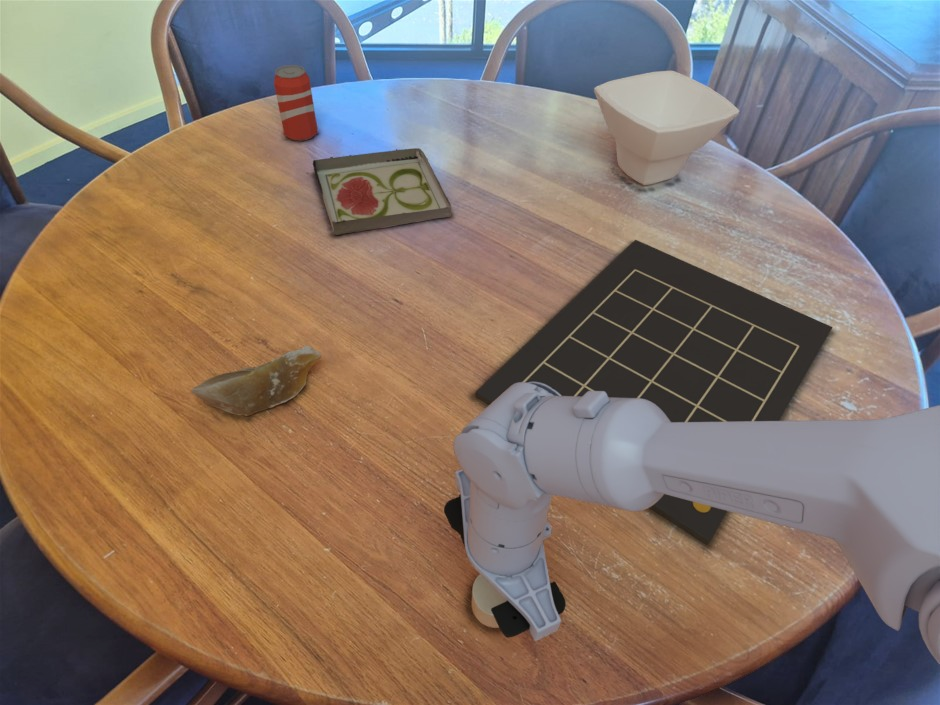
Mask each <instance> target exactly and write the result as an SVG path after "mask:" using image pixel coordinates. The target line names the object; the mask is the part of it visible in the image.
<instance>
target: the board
mask: <svg viewBox="0 0 940 705" xmlns="http://www.w3.org/2000/svg"><path fill="white" fill-rule="evenodd" d="M832 330H833V326H832V325H829V324H827V323H824V322H823V321H820V320H818V319H816V318H814V317H811V316H809V315H807V314H804V313H802V312H799V311H797V310H795V309H793V308H792V307H788V306H787V305H784V304H782V303H779V302H777V301H775V300H773V299H770V298H768V297H766V296H764V295H761V294H759V293H757V292H755V291H752V290H750V289H748V288H745V287H743V286H741V285H739V284H736V283H734V282H732V281H730V280H727V279H725V278H723V277H722V276H718V275H716V274H714V273H711V272H710V271H707V270H705V269H703V268H700V267H699V266H696V265H693V264H691V263H690V262H687V261H685V260H683V259H680V258H678V257H676V256H673V255H671V254H669V253H667V252H664V251H662V250H660V249H658V248H656V247H653V246H651V245H648V244H646V243H644V242H642V241H639V240H638V239H634V240H633V241H632V242H631V243H630V244H629V245H628V246H627V247H626V248H625V249H624V250H622V252H620V254H619V255H618V256H616V258H615V259H613V260H612V261H611V262H610V263H609V264H608V265H607V266H606V267H605V268H604V269H603V270H602V271H600V273H599V274H597V275H596V276H595V277H594V278H593V279H592V280H591V281H590V282H589V283H588V284H587V285H586V286H585V287H584V288H583V289H582V290H581V291H580V292H579V293H577V295H575V296H574V297H573V298H572V299H571V301H569V302H568V303H567V304H566V305H565V306H564V307H563V308H562V309H561V310H560V311H559V312H558V313H557V314H556V315H555V316H553V318H551V319H550V320H549V321H548V322H547V323H546V324H545V325H544V326H543V327H542V328H541V329H540V330H538V332H537V333H536V334H535V335H534V336H532V338H530V339H529V340H528V341H527V342H526V343H525V344H524V345H523V346H522V347H521V348H520V349H519V350H518V351H517V352H515V353H514V355H513V356H511V357H510V359H508V360H507V361H506V362H505V363H504V364H503V365H502V366H501V367H500V368H499V369H498V370H497V371H496V372H495V373H494V374H493V375H492V376H491V377H490V378H488V379H487V380H486V381H485V382H484V383H483V384H482V385H480V387H479V388H478V389H476V391H475V398H476V399H478V400H480V401H481V402H483V403H484V404H486V405H487V406H489V405H490V404H491V403H492V402H493V401H494V400H496V399H497V398H498V397H499V396H500V395H501V394H502V393H503V392H505V391H506V390H507V389H508V388H509V387H510V386H511V385H513V384H515V383H518V382H526V383H528V382H540V383H543V384H545V385H548V386H549V387H551V388H552V389H554V390H556V391H557V392H558V393H559V394H560V395H562V396H580V397H582V396H583V395H584V394H585V393H586V392H588V391H604V392H606V393H607V395H608V397H613V398H641V399H646V400H648V401H651V402H652V403H654V404H655V405H657V406H658V407H659V408H660V409H661V410H662V411H663V412H664V413H665V415H666V416H667V417H668V419H669V420H670V421H671V422H736V421H781V419H782V417H783V415H784V413H785V412H786V410H787V408H788V406H789V404H790V403H791V401H792V399H793V398H794V396H795V394H796V392H797V390H798V389H799V387H800V386H801V384H802V382H803V380H804V379H805V377H806V375H807V373H808V371H809V370H810V368H811V366H812V365H813V362H814V361H815V360H816V357H817V355H818V354H819V352H820V351H821V348H822V347H823V345H824V343H825V342H826V340H827V338H828V337H829V335H830V333H831V331H832ZM648 509H650V510H651V511H653V512H654V513H656V514H658V515H659V516H660V517H663V518H664V519H665V520H667V521H668V522H670V523H672V524H673V525H675V526H677V527H678V528H680V529H681V530H683V531H684V532H686V533H687V534H689V535H690V536H692V537H694V538H696V539H697V540H699V541H700V542H702V543H703V544H704V545H707V546H708V545H709V544H710V542H711V541H712V539H713V537H714V535H715V534H716V532H717V531H718V528H719V527H720V525H721V523H722V521H723V519H724V518H725V516H726V514H728V511H726V510H722V509H718V508H715V507H711V506H707V505H704V504H700V503H696V502H692V501H689V500H685V499H681V498H677V497H674V496H670V495H666V494H664V495H663V496H662V497H661V499H659V500H658V501H657V502H656V503H655V504H654V505H652V506H651V507H649V508H648Z"/></svg>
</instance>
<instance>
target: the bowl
mask: <svg viewBox="0 0 940 705" xmlns="http://www.w3.org/2000/svg"><path fill="white" fill-rule="evenodd" d="M593 93H594V95H595V97H596V100H597V103H598V106H599V109H600V111H601V114H602V116H603V117H602V118H603V119H604V122H605V124H606V127H607V130H608V132H609V133H610V134H611V135H612V137H613V138H614V141H615V151H616V161H617V165H618V167H619V168H620V170H621V171H622V172H623V173H624V174H626V175H627V176H628V177H629V178H631V179H632V180H634V181H635V182H637V183H639V184H641V185H644V186H646V185H653V184H654V185H655V184H657V183H661V182H664V181H667V180H671V179H673V178H675V177H676V176H677V175H679V173H680V171H682V168H683V167H684V166H685V164H686V163H687V161H688V160H689V158H690V157H691V155H692V154H693V153H694V152H696V151H697V150H700V149H702V148H703V147H704V146H706V145H707V144H708V143H709V142H710V141H711V140H712V139H713V138H714V137H715V136H716V135H718V134H719V133H720V132H721V131H722V130H723V129H724V128H725V127H726V126H727V125H728V124H730V123H731V121H733V120H734V119H735V118H736V117H737V116H739V114H740V110H739V108H738V107H736V106H735V105H734V104H733V103H732V102H731V101H730V100H728V99H727V98H726V97H725V96H723V95H722V94H720V93H719V92H717V91H715V90H714V89H712V88H711V87H709V86H707V85H706V84H704V83H701V82H700V81H698V80H695V79H693V78H692V77H690V76H688V75H685V74H682V73H679V72H677V71H675V70H659V71H651V72H646V73H640V74H635V75H630V76H626V77H622V78H617V79H613V80H609V81H607V82H604V83H601V84H599V85H597V86H595V87H594V88H593Z"/></svg>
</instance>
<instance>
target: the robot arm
mask: <svg viewBox="0 0 940 705" xmlns="http://www.w3.org/2000/svg"><path fill="white" fill-rule="evenodd" d="M452 444H453V445H452V446H453V453H454V456H455V458H456V459H455V460H456V461H457V463H458V466H460V469H458V470H456V471H454V485H455V487H456V490H457V491H458V492H459V493H460V494H458V496H457V497H455V498H452V499H450V500H448V501H447V502H446V503H445V504H444V507H443V512H444V515H445V517H446V519H447V521H448V524H449V525H450V528H451V529H452V530H454V531H455V532H457V533H458V534H459V535H460V538H461V541H462V545H463V547H464V549H465V550H464V551H465V553H466V556H467V560H468V561H469V563H470V564H471V566H472V567H473V568H474V569H475V571H477V573H478V574H481V575H482V576H483V577H484V578H485V579H486V580H487V581H488V582H489V583H490V584H491V585H492V586H493V587H494V588H495V589H496V590H497V591H498V592H499V593H500V594H501V595H502V596H504V597H505V598H506V599H507V600H508V601H506V602H504V603H502V604H499V605H497V606H495V607H493V608H491V611H492V614H493V616H494V618H495V620H496V622H497V624H498V626H499V628H498V629H499V630H500V632H501V633H502V634H503V636H504V637H505V638H506V639H509V638H514V637H517V636H519V635H521V634H522V633H523V634H524V633H525V632H527V631H529V633H530V635H531V638H532V639H533V642H537V641H540V640H542V639H544V638H545V637H548V636H549V635H551V634H553V633H556V632H558V631H559V629H560V625H561V623H562V618H561V617H560V615H562V614H563V613H564V611H565V610H566V606H567V603H566V599H565V596H564V594H563V593H562V591H561V589H560V587H559V586H558V584H557V582H556V581H552V582H551V581H550V575H549V570H548V569H549V568H548V564H547V558H546V553H545V546H544V541H545V540H546V539H547V540H548V539H549V538H550V537H551V536H552V532H553V528H552V525H551V524H550V522H549V520H548V515H549V512H550V508H551V503H552V499H553V496H556V497H560V498H564V499H570V500H574V501H580V502H584V503H588V504H594V505H598V506H602V507H607V508H612V509H618V510H622V511H627V512H634V513H635V512H636V513H637V512H638V513H639V512H642V511H645V510H648V509H650V508H649V507H651V506H652V505H654V504H655V503H656V502H657V501H658V500H659V499H661V497H662V496H663V495H664V494H666V495H670V496H674V497H677V498H681V499H685V500H689V501H692V502H696V503H700V504H704V505H707V506H711V507H715V508H718V509H722V510H726V511H727V512H731V513H734V514H738V515H740V516H745V517H749V518H753V519H756V520H760V521H764V522H766V523H770V524H774V525H778V526H782V527H785V528H790V529H793V530H797V531H800V532H805V533H809V534H812V535H815V536H819V537H823V538H828V539H831V540H833V541H834V542H835V543H836V544H837V545H838V548H839V549H840V550H841V552H842V554H843V555H844V557H845V558H846V561H847V563H848V564H849V566H850V568H851V569H852V571H853V573H854V575H855V576H856V579H857V580H858V582H859V583H860V585H861V587H862V588H863V590H864V591H865V594H866V596H867V597H868V599H869V601H870V602H871V604H872V606H873V607H874V609H875V611H876V613H877V615H878V616H879V617H880V619H881V620H882V621H883V622H884V623H885V625H887V626H889V627H890V628H891V629H893V630H895V631H897V632H899V631H900V629H901V626H902V624H903V620H904V618H905V616H906V613H907V610H908V608H909V609H911V610H912V611H915V612H917V613H918V629H919V631H920V635H921V638H922V640H923V643H924V644H925V646H926V648H927V650H928V651H929V653H930V654H931V656H932V657H933V659H934V660H935V661H936V662H937V663H938V665H940V404H937V405H934V406H930V407H927V408H926V407H925V408H922V409H918V410H913V411H911V412H906V413H902V414H899V415H894V416H890V417H884V418H877V419H876V418H875V419H823V420H822V419H820V420H819V419H818V420H816V419H815V420H813V419H812V420H809V419H808V420H779V421H736V422H671V421H670V420H669V419H668V417H667V416H666V415H665V413H664V412H663V411H662V410H661V409H660V408H659V407H658V406H657V405H655V404H654V403H652V402H651V401H648V400H646V399H641V398H613V397H608V395H607V393H606V392H604V391H588V392H586V393H585V394H584V395H583V396H582V397H580V396H562V395H560V394H559V393H558V392H557V391H556V390H554V389H552V388H551V387H549V386H548V385H545V384H543V383H540V382H528V383H526V382H518V383H515V384H513V385H511V386H510V387H509V388H508V389H507V390H506V391H505V392H503V393H502V394H501V395H500V396H499V397H498V398H497V399H496V400H494V401H493V402H492V403H491V404H490V405H487V406H486V407H485V408H484V409H483V410H482V411H481V412H480V413H478V414H477V415H476V416H475V417H474V418H473V419H472V420H470V422H468V423H467V424H466V425H465V426H464V427H463V428H462V429H461V431H460V433H459V434H457V435H456V436H455V437H454V438H453V442H452Z"/></svg>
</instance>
